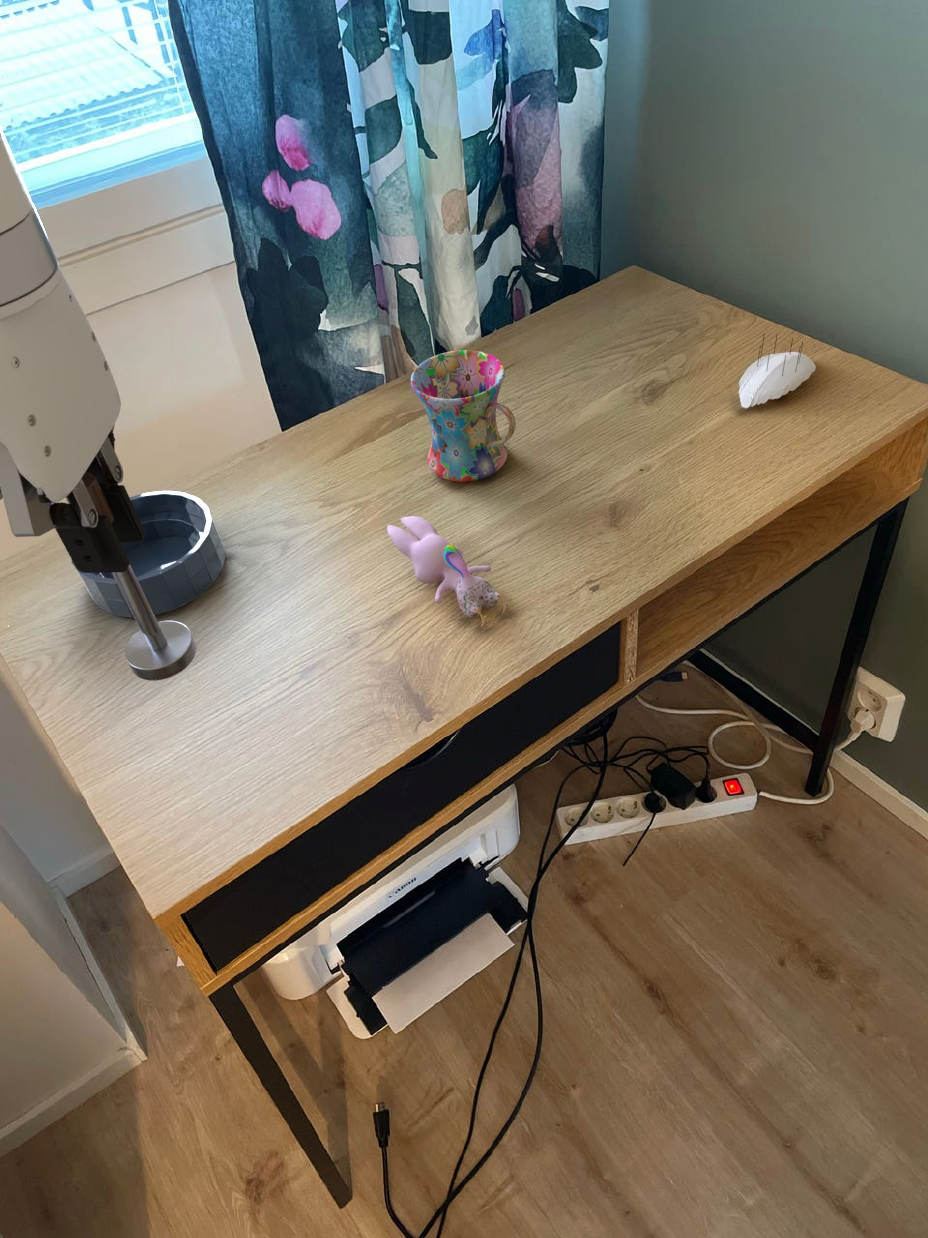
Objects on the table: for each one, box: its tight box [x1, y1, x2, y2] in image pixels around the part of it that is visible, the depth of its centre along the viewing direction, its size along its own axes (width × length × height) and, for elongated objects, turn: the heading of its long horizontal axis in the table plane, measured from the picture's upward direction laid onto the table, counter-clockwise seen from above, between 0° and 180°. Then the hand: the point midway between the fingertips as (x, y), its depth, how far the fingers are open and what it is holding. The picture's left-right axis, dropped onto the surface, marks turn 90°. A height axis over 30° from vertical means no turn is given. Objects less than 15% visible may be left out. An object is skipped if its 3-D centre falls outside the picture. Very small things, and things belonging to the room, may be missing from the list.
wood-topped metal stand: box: [65, 472, 197, 682], centre depth 57 cm, size 5×5×15 cm
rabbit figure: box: [386, 515, 512, 630], centre depth 80 cm, size 6×6×15 cm
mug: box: [410, 349, 517, 483], centre depth 91 cm, size 12×9×11 cm
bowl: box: [71, 490, 227, 619], centre depth 86 cm, size 13×13×5 cm
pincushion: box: [737, 333, 817, 409], centre depth 97 cm, size 12×6×6 cm, turn 133°
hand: (112, 552), depth 56 cm, fingers closed on wood-topped metal stand
